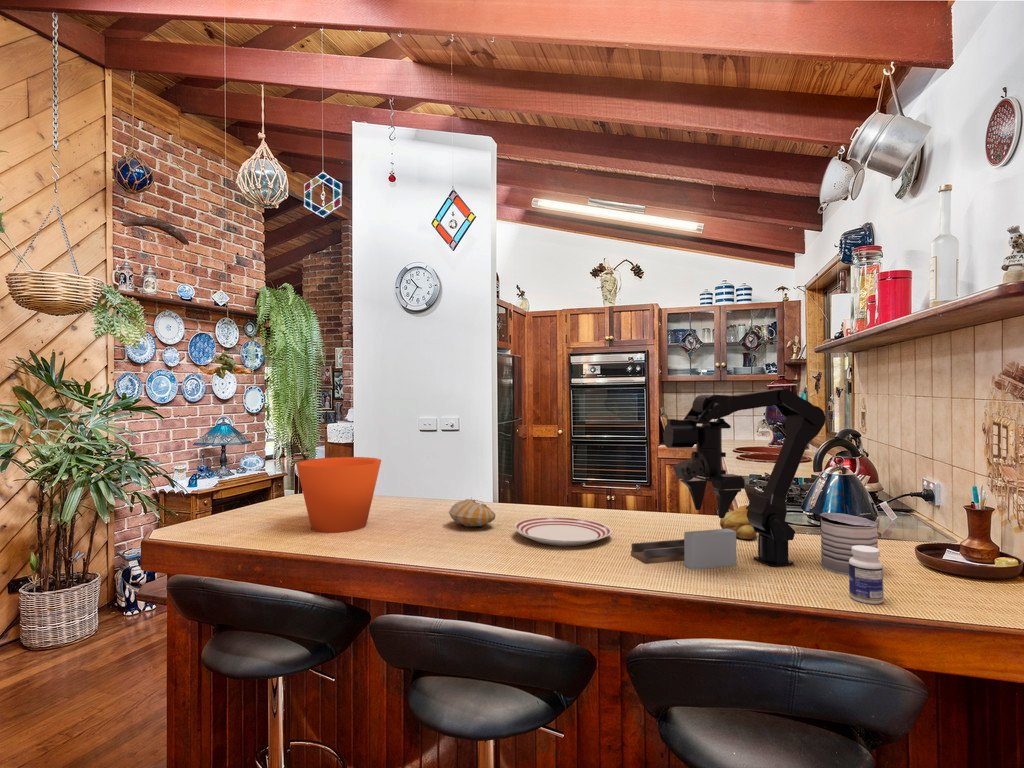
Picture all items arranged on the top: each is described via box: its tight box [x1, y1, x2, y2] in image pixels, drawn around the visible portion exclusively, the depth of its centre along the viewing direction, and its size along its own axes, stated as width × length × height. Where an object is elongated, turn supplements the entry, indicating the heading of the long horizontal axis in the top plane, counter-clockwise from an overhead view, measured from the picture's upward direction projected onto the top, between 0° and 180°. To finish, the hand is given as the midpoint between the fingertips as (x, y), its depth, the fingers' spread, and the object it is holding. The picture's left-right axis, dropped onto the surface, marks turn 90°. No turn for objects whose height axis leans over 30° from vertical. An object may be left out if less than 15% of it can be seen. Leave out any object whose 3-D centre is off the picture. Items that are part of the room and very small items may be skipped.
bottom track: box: [630, 538, 684, 564], centre depth 137 cm, size 18×7×3 cm, turn 106°
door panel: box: [683, 528, 737, 571], centre depth 130 cm, size 12×3×8 cm, turn 106°
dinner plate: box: [513, 516, 613, 547], centre depth 156 cm, size 27×27×3 cm
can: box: [818, 512, 879, 576], centre depth 127 cm, size 11×11×12 cm
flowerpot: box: [295, 456, 382, 534], centre depth 169 cm, size 25×25×20 cm
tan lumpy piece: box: [719, 504, 757, 540], centre depth 158 cm, size 13×10×8 cm
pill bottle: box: [848, 545, 885, 605], centre depth 108 cm, size 6×6×10 cm
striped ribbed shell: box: [448, 497, 496, 528], centre depth 172 cm, size 8×22×15 cm
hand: (709, 513), depth 130 cm, fingers open, 9 cm apart
